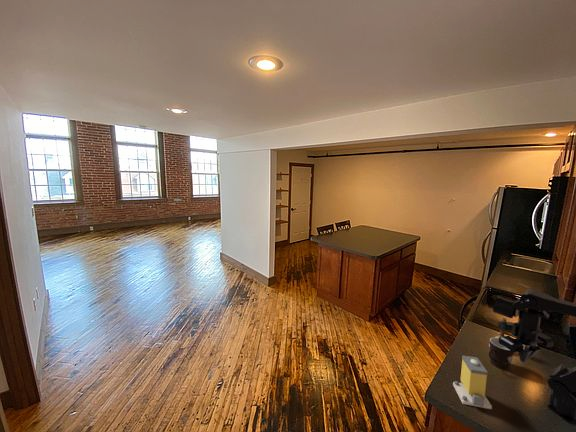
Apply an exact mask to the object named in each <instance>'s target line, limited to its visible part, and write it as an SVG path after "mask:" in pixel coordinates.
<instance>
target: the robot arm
mask: <svg viewBox="0 0 576 432" xmlns="http://www.w3.org/2000/svg"><path fill="white" fill-rule="evenodd" d="M492 307H493V308H492V311H493V313H495V314H497V315H500V316H504V317H506V318H509V319H514V317H515V318H517V317H518V320H517V322H512V321H507V322H503V321H501V320H500V321H498V324H497V328H498V330H499V331H500V330H502V331H503V332H504V333H505V332H506V333H511V335H504V336H502V337H499V340H498V343H500V344H501V345H503V346H505V347H506V348H508V349H509V350H511V351H513V352H514V353H518V356H519V359H520V362H522V363H526V362H527V361H529V360H530V359H532V357H533V356H534V355H536V354H537V353H538V352H540V351H541V350H542V348H541V347H539V346H538V344H542V343H543V342H544V346H545V347H547V348H551V347H554V346H555V340H554V339H553V338H552V337H551V336H548V335H546V334H543V329H541V328H540V325H541V318H543V319H544V320H547V319H548V318H549V317H550V314H549V313H548V312H553V313H554V312H555V313H559V314H563V315H566V316H570V317H574V318H576V302H572V301H569V300H568V301H567V300H562V299H559V298H555V297H553V296H552V295H549V294H547V293H544V292H541V291H538V290H535V289H528V290H526V291H524V293H522V294H521V296H520V297H519V298H517V299H515V301H514V300H511V299H508V298H505V297H502V296H499V295H498V296H496V299H495V302H494V305H493V306H492ZM512 336H513V337H512ZM515 337H516V338H515ZM547 384H548V386H549V388H550V389H551V390H552V392H551V393H550V398H549V401H548V402H549V404H547V405H546V407H547V408H548V409H550V410H551V411H553V412H554V413H555V414H557V415H558V417H561V419H563V420H564V421H566V422H567V423H569V424H570V423H574V422H575V423H576V366H574V367H566V366H565V364H564V363H561V364H560V365H559V366H557V367H552V368H551V370H550V373H549V374H548V379H547Z"/></svg>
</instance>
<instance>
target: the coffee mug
mask: <svg viewBox="0 0 576 432" xmlns="http://www.w3.org/2000/svg"><path fill="white" fill-rule="evenodd" d="M498 340H499V338H495V337H491V338H489V344H490V347H489V352H488V357H489V359H490V360H489V361H490V364H491V365H493V366H494V367H495V368H497V369H500V370H503V371H504V370H505V371H507V370H509V369H510V367H511V364H512V361H513V359H514V358H513V357H514V354H515V352H513V351H511V350H509V349H508V348H506V347H505V346H503V345H501V344H500V343H498Z"/></svg>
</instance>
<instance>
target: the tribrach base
mask: <svg viewBox="0 0 576 432" xmlns="http://www.w3.org/2000/svg"><path fill="white" fill-rule="evenodd" d="M452 386H453V387H454V389H455V392H456V393H457V395H458V398H459V400H460V401H461V403H462V405H468V406H471V407H472V406H473V407H477V408H483V409H488V410H492V409H493V406H492V404H491V403H490V401H489V400H488V398H487V396H486V395H485V397H483V396H482V395H476V394H473V396H472V395H469V394H468V392H467V391H466V389H465V387H464V385H463V383H462V382H461V381H460V382H459V381H458V380H454V381H453V383H452Z"/></svg>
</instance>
